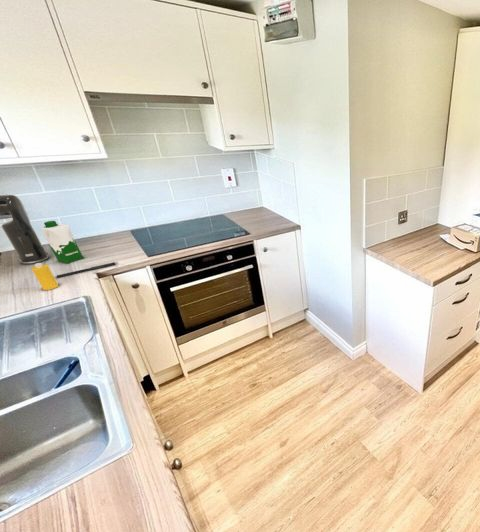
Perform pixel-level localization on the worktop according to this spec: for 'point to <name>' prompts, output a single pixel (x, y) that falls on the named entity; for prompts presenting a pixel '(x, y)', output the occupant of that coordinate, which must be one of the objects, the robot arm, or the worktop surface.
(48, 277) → the mustard bottle
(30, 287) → the worktop surface
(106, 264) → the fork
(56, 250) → the milk carton
